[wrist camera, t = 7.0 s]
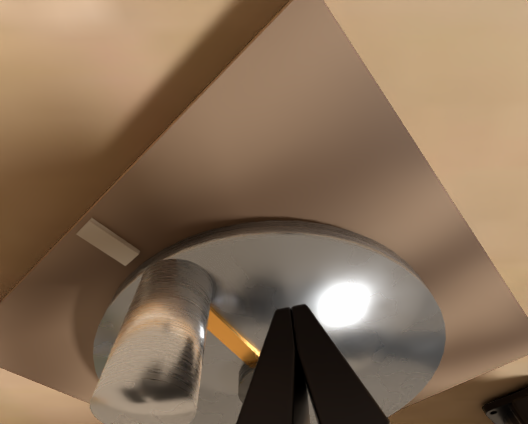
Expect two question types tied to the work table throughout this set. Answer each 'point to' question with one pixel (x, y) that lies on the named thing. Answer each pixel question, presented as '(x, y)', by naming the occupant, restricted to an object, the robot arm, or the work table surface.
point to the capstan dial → (258, 320)
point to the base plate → (268, 204)
